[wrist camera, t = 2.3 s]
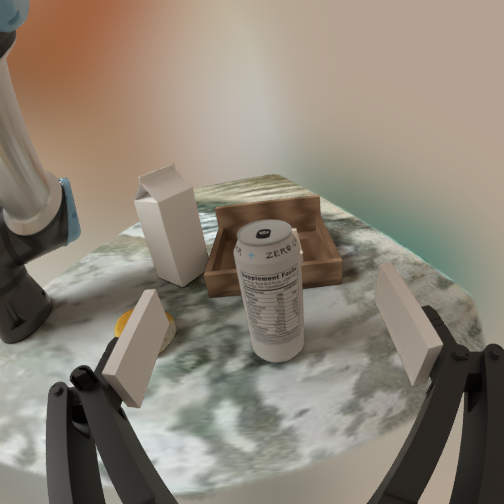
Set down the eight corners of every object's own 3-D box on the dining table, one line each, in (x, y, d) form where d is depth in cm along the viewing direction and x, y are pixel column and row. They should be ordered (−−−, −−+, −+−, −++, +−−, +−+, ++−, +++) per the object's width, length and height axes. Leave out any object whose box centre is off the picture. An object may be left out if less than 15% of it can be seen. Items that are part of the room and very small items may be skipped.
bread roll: (138, 315, 41) (129, 294, 39) (185, 324, 38) (177, 302, 36) (108, 350, 34) (95, 330, 32) (156, 367, 31) (144, 345, 29)
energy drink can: (305, 329, 34) (299, 215, 27) (302, 367, 29) (296, 245, 22) (258, 328, 35) (238, 218, 28) (248, 365, 30) (222, 248, 23)
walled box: (209, 297, 42) (197, 251, 39) (223, 243, 58) (215, 207, 54) (341, 283, 41) (342, 235, 37) (320, 232, 56) (318, 195, 53)
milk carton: (211, 267, 50) (187, 162, 41) (183, 288, 46) (151, 176, 37) (185, 259, 54) (161, 164, 45) (158, 278, 50) (127, 177, 41)
